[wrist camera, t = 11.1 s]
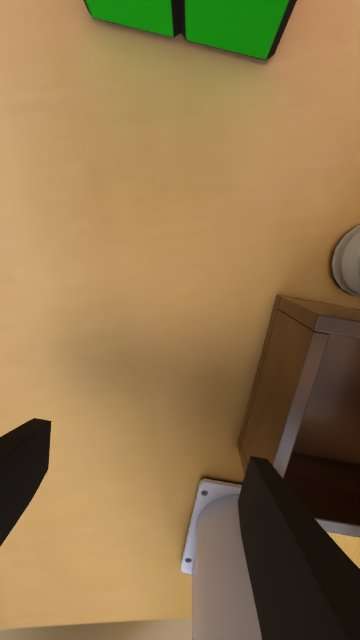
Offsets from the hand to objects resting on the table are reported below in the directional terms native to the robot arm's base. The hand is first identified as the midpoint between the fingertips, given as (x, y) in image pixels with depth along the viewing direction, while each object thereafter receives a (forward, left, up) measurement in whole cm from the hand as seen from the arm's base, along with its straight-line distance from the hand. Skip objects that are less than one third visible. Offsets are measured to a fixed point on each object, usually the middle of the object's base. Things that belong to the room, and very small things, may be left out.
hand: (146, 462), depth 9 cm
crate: (0, -11, -9) cm, 14 cm away
